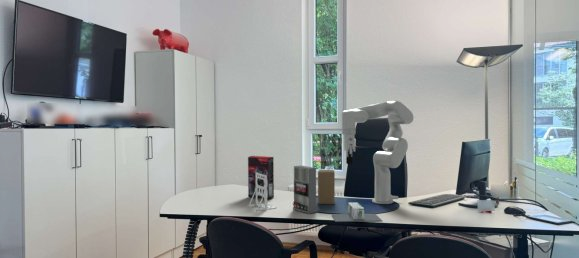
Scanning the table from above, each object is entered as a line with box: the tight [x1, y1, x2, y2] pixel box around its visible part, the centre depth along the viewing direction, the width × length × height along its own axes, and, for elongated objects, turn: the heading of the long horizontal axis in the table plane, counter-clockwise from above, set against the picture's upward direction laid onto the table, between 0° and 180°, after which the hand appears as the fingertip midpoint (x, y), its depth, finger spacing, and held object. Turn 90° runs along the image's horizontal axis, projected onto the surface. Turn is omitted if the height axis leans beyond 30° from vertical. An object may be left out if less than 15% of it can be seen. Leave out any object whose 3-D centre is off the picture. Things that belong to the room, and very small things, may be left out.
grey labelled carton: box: [292, 165, 318, 215], centre depth 225 cm, size 14×6×25 cm, turn 37°
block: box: [317, 169, 336, 205], centre depth 245 cm, size 10×10×20 cm
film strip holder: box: [246, 173, 278, 212], centre depth 234 cm, size 14×14×20 cm
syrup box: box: [347, 202, 365, 219], centre depth 212 cm, size 6×6×14 cm
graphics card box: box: [247, 155, 275, 200], centre depth 262 cm, size 17×7×27 cm, turn 58°
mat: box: [331, 213, 383, 223], centre depth 209 cm, size 24×14×1 cm, turn 92°
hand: (349, 163), depth 229 cm, fingers closed
